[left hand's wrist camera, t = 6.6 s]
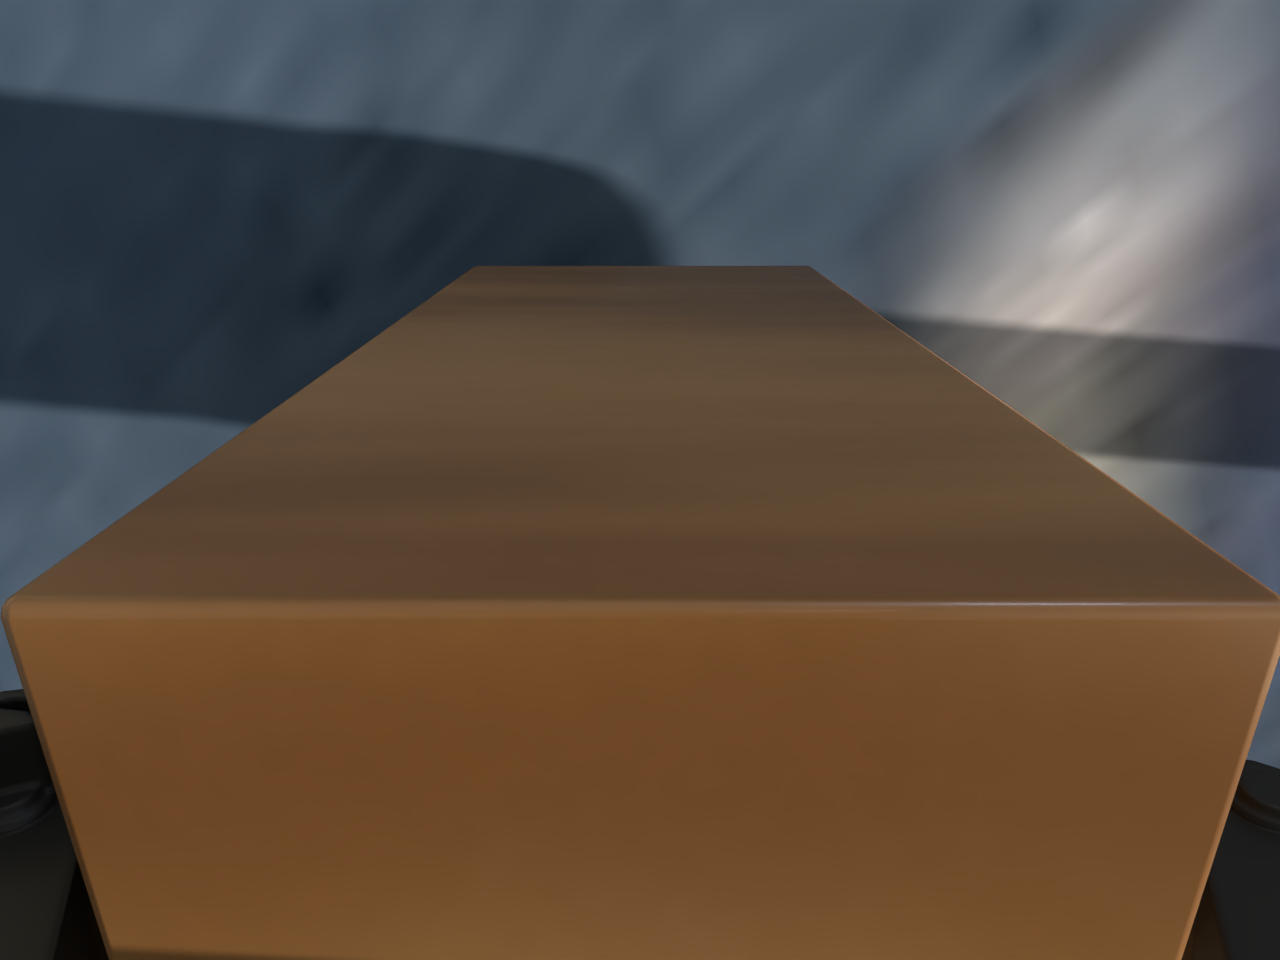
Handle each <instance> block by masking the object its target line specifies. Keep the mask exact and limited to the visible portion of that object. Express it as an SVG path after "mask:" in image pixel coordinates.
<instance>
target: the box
mask: <svg viewBox="0 0 1280 960" xmlns="http://www.w3.org/2000/svg"><path fill="white" fill-rule="evenodd" d="M1 620H2V623H3V626H4V629H5V633H6V636H7V639H8V642H9V645H10V648H11V652H12V655H13V658H14V661H15V664H16V667H17V671H18V674H19V677H20V680H21V683H22V686H23V690H24V693H25V696H26V699H27V702H28V705H29V708H30V712H31V715H32V718H33V721H34V724H35V727H36V731H37V734H38V737H39V740H40V743H41V746H42V750H43V753H44V756H45V759H46V762H47V765H48V769H49V772H50V775H51V778H52V781H53V784H54V787H55V791H56V794H57V797H58V800H59V803H60V806H61V810H62V813H63V816H64V819H65V822H66V825H67V829H68V832H69V835H70V838H71V841H72V844H73V848H74V851H75V854H76V857H77V860H78V863H79V867H80V870H81V873H82V876H83V879H84V882H85V885H86V889H87V892H88V895H89V898H90V901H91V904H92V908H93V911H94V914H95V917H96V920H97V923H98V927H99V930H100V933H101V936H102V939H103V942H104V946H105V949H106V952H107V955H108V958H109V960H1181V959H1182V956H1183V953H1184V950H1185V947H1186V944H1187V941H1188V937H1189V934H1190V931H1191V928H1192V925H1193V922H1194V919H1195V916H1196V913H1197V910H1198V906H1199V903H1200V900H1201V897H1202V894H1203V891H1204V888H1205V885H1206V882H1207V878H1208V875H1209V872H1210V869H1211V866H1212V863H1213V860H1214V857H1215V854H1216V851H1217V847H1218V844H1219V841H1220V838H1221V835H1222V832H1223V829H1224V826H1225V823H1226V820H1227V816H1228V813H1229V810H1230V807H1231V804H1232V801H1233V798H1234V795H1235V792H1236V789H1237V785H1238V782H1239V779H1240V776H1241V773H1242V770H1243V767H1244V764H1245V761H1246V758H1247V754H1248V751H1249V748H1250V745H1251V742H1252V739H1253V736H1254V733H1255V730H1256V727H1257V723H1258V720H1259V717H1260V714H1261V711H1262V708H1263V705H1264V702H1265V699H1266V696H1267V692H1268V689H1269V686H1270V683H1271V680H1272V677H1273V674H1274V671H1275V668H1276V664H1277V661H1278V658H1279V655H1280V596H1279V595H1278V594H1276V593H1275V592H1274V591H1272V590H1271V589H1269V588H1268V587H1266V586H1265V585H1264V584H1262V583H1261V582H1259V581H1258V580H1256V579H1255V578H1254V577H1252V576H1251V575H1249V574H1248V573H1246V572H1245V571H1244V570H1242V569H1241V568H1239V567H1238V566H1236V565H1235V564H1234V563H1232V562H1231V561H1229V560H1228V559H1226V558H1225V557H1224V556H1222V555H1221V554H1219V553H1218V552H1216V551H1215V550H1214V549H1212V548H1211V547H1209V546H1208V545H1206V544H1205V543H1204V542H1202V541H1201V540H1199V539H1198V538H1197V537H1195V536H1194V535H1192V534H1191V533H1189V532H1188V531H1187V530H1185V529H1184V528H1182V527H1181V526H1179V525H1178V524H1177V523H1175V522H1174V521H1172V520H1171V519H1169V518H1168V517H1167V516H1165V515H1164V514H1162V513H1161V512H1159V511H1158V510H1157V509H1155V508H1154V507H1152V506H1151V505H1149V504H1148V503H1147V502H1145V501H1144V500H1142V499H1141V498H1139V497H1138V496H1137V495H1135V494H1134V493H1132V492H1131V491H1130V490H1128V489H1127V488H1125V487H1124V486H1122V485H1121V484H1120V483H1118V482H1117V481H1115V480H1114V479H1112V478H1111V477H1110V476H1108V475H1107V474H1105V473H1104V472H1102V471H1101V470H1100V469H1098V468H1097V467H1095V466H1094V465H1092V464H1091V463H1090V462H1088V461H1087V460H1085V459H1084V458H1082V457H1081V456H1080V455H1078V454H1077V453H1075V452H1074V451H1072V450H1071V449H1070V448H1068V447H1067V446H1065V445H1064V444H1062V443H1061V442H1060V441H1058V440H1057V439H1055V438H1054V437H1053V436H1051V435H1050V434H1048V433H1047V432H1045V431H1044V430H1043V429H1041V428H1040V427H1038V426H1037V425H1035V424H1034V423H1033V422H1031V421H1030V420H1028V419H1027V418H1025V417H1024V416H1023V415H1021V414H1020V413H1018V412H1017V411H1015V410H1014V409H1013V408H1011V407H1010V406H1008V405H1007V404H1005V403H1004V402H1003V401H1001V400H1000V399H998V398H997V397H995V396H994V395H993V394H991V393H990V392H988V391H987V390H986V389H984V388H983V387H981V386H980V385H978V384H977V383H976V382H974V381H973V380H971V379H970V378H968V377H967V376H966V375H964V374H963V373H961V372H960V371H958V370H957V369H956V368H954V367H953V366H951V365H950V364H948V363H947V362H946V361H944V360H943V359H941V358H940V357H938V356H937V355H936V354H934V353H933V352H931V351H930V350H928V349H927V348H926V347H924V346H923V345H921V344H920V343H918V342H917V341H916V340H914V339H913V338H911V337H910V336H909V335H907V334H906V333H904V332H903V331H901V330H900V329H899V328H897V327H896V326H894V325H893V324H891V323H890V322H889V321H887V320H886V319H884V318H883V317H881V316H880V315H879V314H877V313H876V312H874V311H873V310H871V309H870V308H869V307H867V306H866V305H864V304H863V303H861V302H860V301H859V300H857V299H856V298H854V297H853V296H851V295H850V294H849V293H847V292H846V291H844V290H843V289H841V288H840V287H839V286H837V285H836V284H834V283H833V282H832V281H830V280H829V279H827V278H826V277H824V276H823V275H822V274H820V273H819V272H817V271H816V270H814V269H813V268H812V267H809V266H475V267H473V268H471V269H470V270H469V271H467V272H466V273H464V274H463V275H462V276H460V277H459V278H457V279H456V280H455V281H453V282H452V283H450V284H449V285H448V286H446V287H445V288H443V289H442V290H440V291H439V292H438V293H436V294H435V295H433V296H432V297H431V298H429V299H428V300H426V301H425V302H424V303H422V304H421V305H419V306H418V307H417V308H415V309H414V310H412V311H411V312H410V313H408V314H407V315H405V316H404V317H403V318H401V319H400V320H398V321H397V322H396V323H394V324H393V325H391V326H390V327H388V328H387V329H386V330H384V331H383V332H381V333H380V334H379V335H377V336H376V337H374V338H373V339H372V340H370V341H369V342H367V343H366V344H365V345H363V346H362V347H360V348H359V349H358V350H356V351H355V352H353V353H352V354H351V355H349V356H348V357H346V358H345V359H344V360H342V361H341V362H339V363H338V364H336V365H335V366H334V367H332V368H331V369H329V370H328V371H327V372H325V373H324V374H322V375H321V376H320V377H318V378H317V379H315V380H314V381H313V382H311V383H310V384H308V385H307V386H306V387H304V388H303V389H301V390H300V391H299V392H297V393H296V394H294V395H293V396H292V397H290V398H289V399H287V400H286V401H285V402H283V403H282V404H280V405H279V406H277V407H276V408H275V409H273V410H272V411H270V412H269V413H268V414H266V415H265V416H263V417H262V418H261V419H259V420H258V421H256V422H255V423H254V424H252V425H251V426H249V427H248V428H247V429H245V430H244V431H242V432H241V433H240V434H238V435H237V436H235V437H234V438H233V439H231V440H230V441H228V442H227V443H225V444H224V445H223V446H221V447H220V448H218V449H217V450H216V451H214V452H213V453H211V454H210V455H209V456H207V457H206V458H204V459H203V460H202V461H200V462H199V463H197V464H196V465H195V466H193V467H192V468H190V469H189V470H188V471H186V472H185V473H183V474H182V475H181V476H179V477H178V478H176V479H175V480H173V481H172V482H171V483H169V484H168V485H166V486H165V487H164V488H162V489H161V490H159V491H158V492H157V493H155V494H154V495H152V496H151V497H150V498H148V499H147V500H145V501H144V502H143V503H141V504H140V505H138V506H137V507H136V508H134V509H133V510H131V511H130V512H129V513H127V514H126V515H124V516H123V517H122V518H120V519H119V520H117V521H116V522H114V523H113V524H112V525H110V526H109V527H107V528H106V529H105V530H103V531H102V532H100V533H99V534H98V535H96V536H95V537H93V538H92V539H91V540H89V541H88V542H86V543H85V544H84V545H82V546H81V547H79V548H78V549H77V550H75V551H74V552H72V553H71V554H70V555H68V556H67V557H65V558H64V559H62V560H61V561H60V562H58V563H57V564H55V565H54V566H53V567H51V568H50V569H48V570H47V571H46V572H44V573H43V574H41V575H40V576H39V577H37V578H36V579H34V580H33V581H32V582H30V583H29V584H27V585H26V586H25V587H23V588H22V589H20V590H19V591H18V592H16V593H15V594H13V595H12V596H10V597H9V598H8V599H6V601H5V603H4V605H3V606H2V612H1Z"/></svg>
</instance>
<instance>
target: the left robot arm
mask: <svg viewBox="0 0 1280 960" xmlns="http://www.w3.org/2000/svg"><path fill="white" fill-rule="evenodd" d="M0 960H109V958H108V955H107V952H106V949H105V946H104V942H103V939H102V936H101V933H100V930H99V927H98V923H97V920H96V917H95V914H94V911H93V908H92V904H91V901H90V898H89V895H88V892H87V889H86V885H85V882H84V879H83V876H82V873H81V870H80V867H79V863H78V860H77V857H76V854H75V851H74V848H73V844H72V841H71V838H70V835H69V832H68V829H67V825H66V822H65V819H64V816H63V813H62V810H61V806H60V803H59V800H58V797H57V794H56V791H55V787H54V784H53V781H52V778H51V775H50V772H49V769H48V765H47V762H46V759H45V756H44V753H43V750H42V746H41V743H40V740H39V737H38V734H37V731H36V727H35V724H34V721H33V718H32V715H31V712H30V708H29V705H28V702H27V699H26V696H25V693H24V690H23V689H20V690H11V691H3V692H0ZM1181 960H1280V769H1278V768H1275V767H1272V766H1269V765H1265V764H1262V763H1259V762H1256V761H1252V760H1246V761H1245V764H1244V767H1243V770H1242V773H1241V776H1240V779H1239V782H1238V785H1237V789H1236V792H1235V795H1234V798H1233V801H1232V804H1231V807H1230V810H1229V813H1228V816H1227V820H1226V823H1225V826H1224V829H1223V832H1222V835H1221V838H1220V841H1219V844H1218V847H1217V851H1216V854H1215V857H1214V860H1213V863H1212V866H1211V869H1210V872H1209V875H1208V878H1207V882H1206V885H1205V888H1204V891H1203V894H1202V897H1201V900H1200V903H1199V906H1198V910H1197V913H1196V916H1195V919H1194V922H1193V925H1192V928H1191V931H1190V934H1189V937H1188V941H1187V944H1186V947H1185V950H1184V953H1183V956H1182V959H1181Z"/></svg>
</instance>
